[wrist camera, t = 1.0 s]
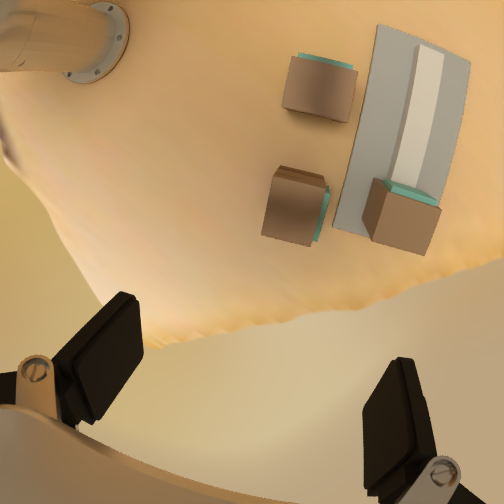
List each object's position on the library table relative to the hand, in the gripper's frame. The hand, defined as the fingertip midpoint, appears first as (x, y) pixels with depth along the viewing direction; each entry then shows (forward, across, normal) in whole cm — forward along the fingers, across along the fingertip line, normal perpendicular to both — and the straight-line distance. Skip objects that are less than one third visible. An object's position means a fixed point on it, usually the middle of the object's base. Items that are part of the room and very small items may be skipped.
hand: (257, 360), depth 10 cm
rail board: (+28, -11, -9) cm, 31 cm away
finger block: (+27, +1, +1) cm, 27 cm away
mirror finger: (+27, 0, -11) cm, 30 cm away
